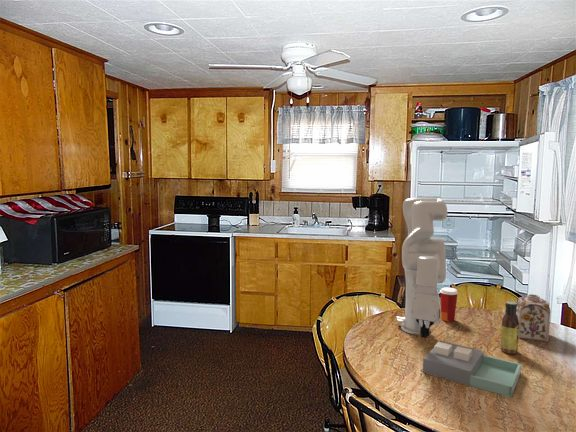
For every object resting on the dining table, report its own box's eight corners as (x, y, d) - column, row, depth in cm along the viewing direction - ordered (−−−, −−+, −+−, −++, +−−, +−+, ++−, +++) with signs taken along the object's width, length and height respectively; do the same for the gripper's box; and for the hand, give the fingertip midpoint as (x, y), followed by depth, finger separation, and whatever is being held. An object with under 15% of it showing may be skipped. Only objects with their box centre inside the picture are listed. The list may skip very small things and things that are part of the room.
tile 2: (453, 357, 153) (453, 350, 153) (457, 352, 157) (457, 346, 157) (468, 361, 150) (468, 354, 150) (471, 356, 154) (472, 349, 154)
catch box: (469, 385, 143) (470, 375, 143) (482, 363, 159) (483, 354, 159) (511, 397, 136) (511, 387, 135) (520, 373, 152) (521, 363, 152)
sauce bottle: (520, 355, 166) (523, 306, 164) (502, 354, 168) (505, 305, 165) (514, 348, 173) (517, 301, 170) (498, 347, 174) (501, 300, 172)
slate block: (422, 372, 152) (423, 358, 152) (439, 352, 169) (440, 340, 168) (469, 385, 143) (470, 371, 143) (482, 363, 159) (483, 350, 159)
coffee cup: (457, 318, 207) (458, 288, 206) (456, 323, 200) (457, 292, 198) (439, 315, 211) (440, 286, 209) (437, 321, 203) (438, 290, 202)
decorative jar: (548, 342, 179) (551, 301, 177) (517, 338, 183) (520, 297, 181) (543, 332, 190) (546, 293, 188) (514, 328, 194) (516, 290, 192)
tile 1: (433, 352, 157) (434, 346, 157) (438, 348, 161) (438, 341, 161) (447, 356, 154) (448, 349, 154) (451, 351, 158) (452, 344, 158)
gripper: (403, 288, 160) (401, 335, 162) (444, 294, 152) (442, 344, 153) (410, 284, 166) (409, 329, 168) (450, 290, 158) (447, 338, 159)
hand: (424, 336), depth 160 cm, fingers closed
